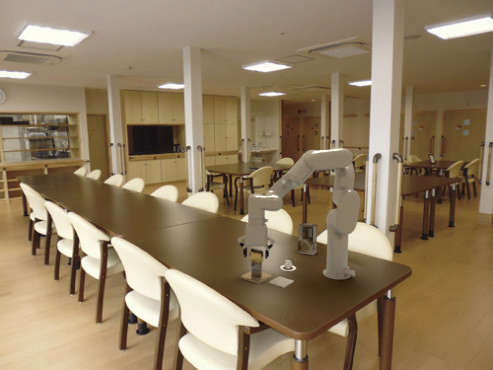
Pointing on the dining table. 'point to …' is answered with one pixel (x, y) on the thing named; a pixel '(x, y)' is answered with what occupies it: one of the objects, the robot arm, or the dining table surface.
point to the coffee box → (307, 238)
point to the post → (256, 274)
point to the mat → (281, 282)
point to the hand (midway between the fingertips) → (255, 257)
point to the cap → (256, 255)
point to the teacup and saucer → (288, 265)
